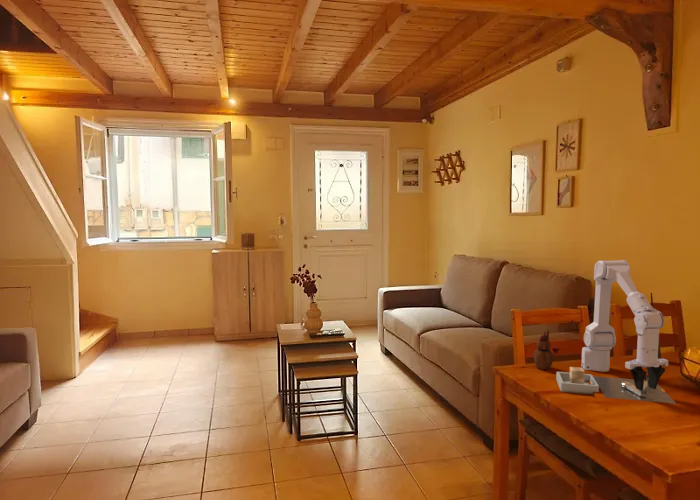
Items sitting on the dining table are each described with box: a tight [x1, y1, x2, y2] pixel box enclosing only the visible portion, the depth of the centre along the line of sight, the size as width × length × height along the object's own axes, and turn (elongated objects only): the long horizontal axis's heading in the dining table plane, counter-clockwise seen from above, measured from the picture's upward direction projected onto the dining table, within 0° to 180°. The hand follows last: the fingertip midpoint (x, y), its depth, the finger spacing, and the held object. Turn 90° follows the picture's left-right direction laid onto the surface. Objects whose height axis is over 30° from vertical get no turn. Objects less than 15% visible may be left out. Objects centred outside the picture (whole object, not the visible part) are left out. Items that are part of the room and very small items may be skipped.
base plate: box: [592, 375, 677, 405], centre depth 160 cm, size 20×20×1 cm
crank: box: [621, 375, 649, 396], centre depth 157 cm, size 12×4×7 cm, turn 3°
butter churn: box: [650, 292, 662, 359], centre depth 192 cm, size 9×10×28 cm
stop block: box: [569, 366, 586, 384], centre depth 164 cm, size 4×4×6 cm
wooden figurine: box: [533, 330, 554, 370], centre depth 184 cm, size 7×6×15 cm
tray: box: [555, 371, 600, 395], centre depth 165 cm, size 12×12×3 cm
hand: (645, 388), depth 153 cm, fingers open, 4 cm apart
